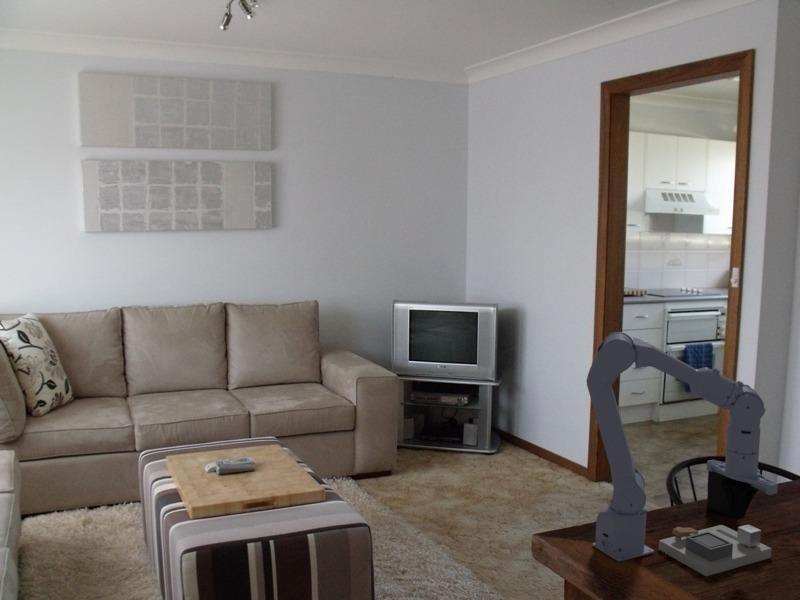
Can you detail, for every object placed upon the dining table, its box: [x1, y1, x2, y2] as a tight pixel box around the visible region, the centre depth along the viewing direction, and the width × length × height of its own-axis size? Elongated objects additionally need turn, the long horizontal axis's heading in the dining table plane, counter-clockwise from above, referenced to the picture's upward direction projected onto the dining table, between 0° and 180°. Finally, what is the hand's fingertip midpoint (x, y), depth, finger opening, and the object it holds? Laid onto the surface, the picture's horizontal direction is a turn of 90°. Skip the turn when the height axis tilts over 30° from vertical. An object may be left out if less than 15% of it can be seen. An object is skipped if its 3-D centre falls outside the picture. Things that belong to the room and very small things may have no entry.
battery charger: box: [706, 460, 733, 518], centre depth 170 cm, size 7×4×11 cm, turn 38°
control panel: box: [658, 524, 772, 577], centre depth 149 cm, size 18×12×4 cm, turn 116°
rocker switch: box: [672, 527, 699, 537], centre depth 151 cm, size 5×2×1 cm, turn 116°
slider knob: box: [737, 524, 762, 547], centre depth 149 cm, size 3×3×3 cm
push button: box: [692, 534, 727, 548], centre depth 146 cm, size 4×4×2 cm
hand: (738, 517), depth 144 cm, fingers closed
